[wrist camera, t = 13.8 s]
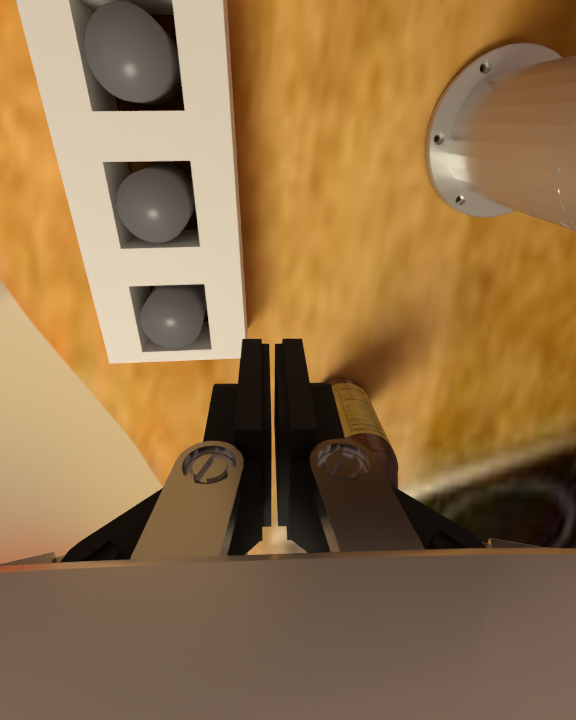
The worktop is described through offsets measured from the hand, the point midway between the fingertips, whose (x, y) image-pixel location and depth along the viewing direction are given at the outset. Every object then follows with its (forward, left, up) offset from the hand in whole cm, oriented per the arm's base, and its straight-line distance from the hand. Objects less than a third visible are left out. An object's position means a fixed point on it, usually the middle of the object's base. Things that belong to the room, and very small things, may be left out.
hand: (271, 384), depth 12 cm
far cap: (+8, +8, -27) cm, 30 cm away
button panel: (+8, -1, -29) cm, 30 cm away
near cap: (+8, -10, -27) cm, 30 cm away
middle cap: (+8, -1, -27) cm, 29 cm away
